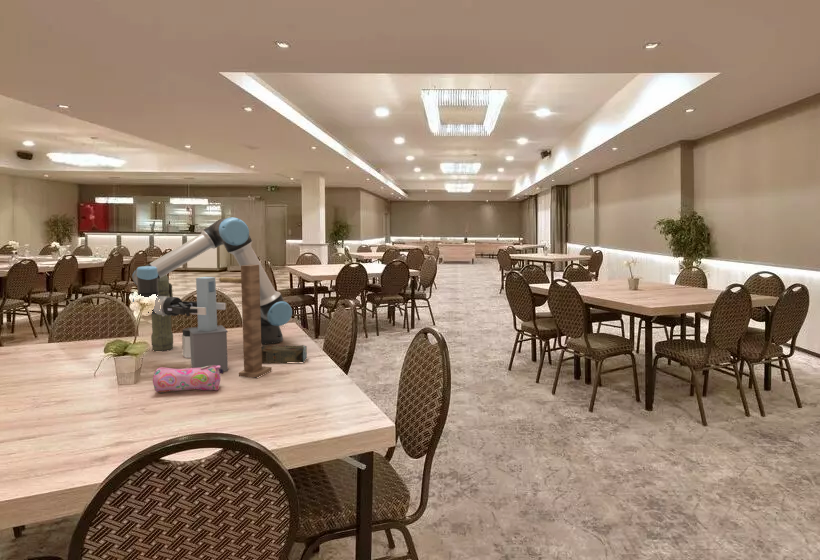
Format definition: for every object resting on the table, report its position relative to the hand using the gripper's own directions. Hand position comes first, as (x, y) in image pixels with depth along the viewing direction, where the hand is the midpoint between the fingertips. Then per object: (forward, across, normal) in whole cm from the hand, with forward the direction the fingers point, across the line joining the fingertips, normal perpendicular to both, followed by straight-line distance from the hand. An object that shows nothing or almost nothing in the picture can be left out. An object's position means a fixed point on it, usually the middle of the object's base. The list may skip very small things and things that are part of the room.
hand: (215, 308), depth 196 cm
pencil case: (+6, +24, -25) cm, 35 cm away
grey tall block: (-4, 0, -8) cm, 9 cm away
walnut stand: (+12, 0, -25) cm, 27 cm away
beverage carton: (+18, -19, -25) cm, 36 cm away
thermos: (-45, -21, -25) cm, 55 cm away
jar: (-24, -16, -25) cm, 38 cm away
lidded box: (-4, 0, -24) cm, 25 cm away
